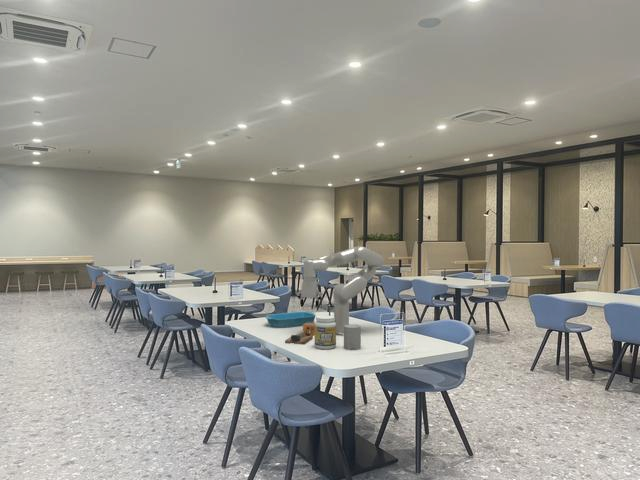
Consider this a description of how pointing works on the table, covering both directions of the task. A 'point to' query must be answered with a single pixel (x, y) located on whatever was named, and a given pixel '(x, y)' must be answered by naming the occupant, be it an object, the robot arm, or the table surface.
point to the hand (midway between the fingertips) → (309, 306)
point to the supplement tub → (325, 332)
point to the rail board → (303, 340)
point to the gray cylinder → (352, 337)
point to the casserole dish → (290, 319)
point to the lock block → (309, 329)
